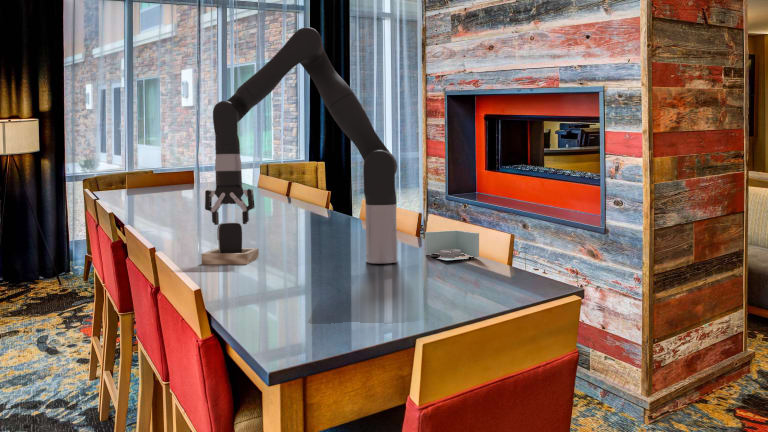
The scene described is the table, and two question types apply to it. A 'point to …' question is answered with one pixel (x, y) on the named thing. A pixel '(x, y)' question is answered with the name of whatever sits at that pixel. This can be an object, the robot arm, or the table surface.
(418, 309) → the table surface
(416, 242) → the table surface
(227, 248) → the battery charger
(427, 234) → the l-shaped corner panel
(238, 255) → the beige square frame
